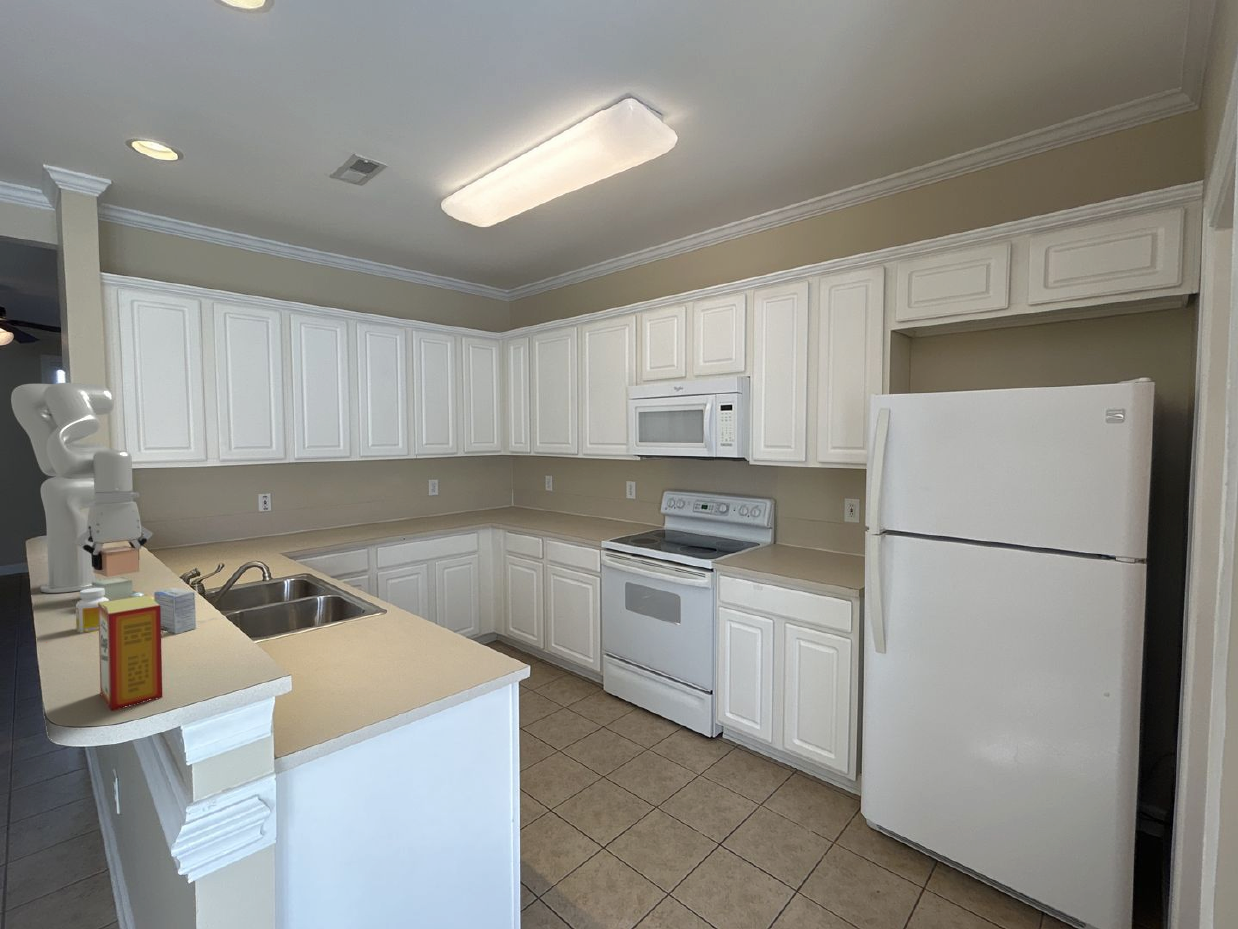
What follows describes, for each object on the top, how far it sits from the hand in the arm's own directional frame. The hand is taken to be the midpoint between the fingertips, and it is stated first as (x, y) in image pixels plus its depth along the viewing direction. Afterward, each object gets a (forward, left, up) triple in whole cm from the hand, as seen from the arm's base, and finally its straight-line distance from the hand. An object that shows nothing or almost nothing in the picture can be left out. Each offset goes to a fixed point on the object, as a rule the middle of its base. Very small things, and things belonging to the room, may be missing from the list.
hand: (116, 566), depth 150 cm
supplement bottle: (+26, -13, -9) cm, 30 cm away
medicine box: (+37, -2, -9) cm, 38 cm away
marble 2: (+18, 0, -8) cm, 20 cm away
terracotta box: (0, 0, -2) cm, 2 cm away
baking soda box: (+69, -21, -9) cm, 72 cm away
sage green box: (+8, -4, -8) cm, 12 cm away
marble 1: (+14, 0, -7) cm, 16 cm away
